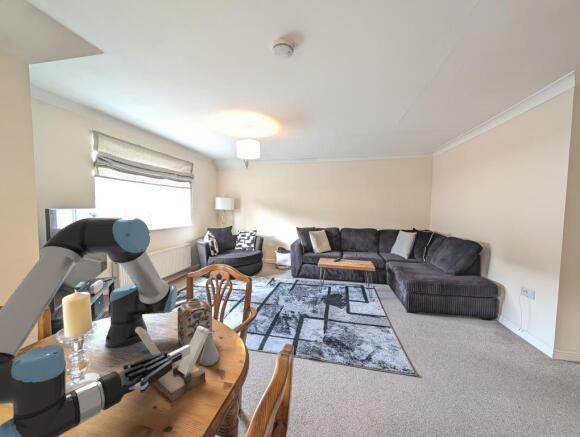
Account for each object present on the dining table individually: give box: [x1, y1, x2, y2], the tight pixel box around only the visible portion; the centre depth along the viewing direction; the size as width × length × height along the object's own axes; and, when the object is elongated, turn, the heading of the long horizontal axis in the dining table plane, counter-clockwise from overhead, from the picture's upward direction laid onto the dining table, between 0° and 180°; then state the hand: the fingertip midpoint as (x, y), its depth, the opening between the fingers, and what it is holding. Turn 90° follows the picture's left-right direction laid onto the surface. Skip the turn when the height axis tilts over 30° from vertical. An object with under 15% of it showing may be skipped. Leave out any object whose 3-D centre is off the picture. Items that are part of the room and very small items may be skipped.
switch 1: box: [135, 327, 161, 356], centre depth 79 cm, size 2×6×14 cm, turn 55°
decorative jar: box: [177, 297, 213, 347], centre depth 99 cm, size 12×12×18 cm
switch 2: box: [178, 326, 209, 375], centre depth 77 cm, size 2×6×14 cm
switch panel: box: [152, 347, 206, 402], centre depth 78 cm, size 11×24×4 cm, turn 54°
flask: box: [198, 331, 221, 367], centre depth 85 cm, size 7×7×10 cm
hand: (189, 349), depth 75 cm, fingers closed
